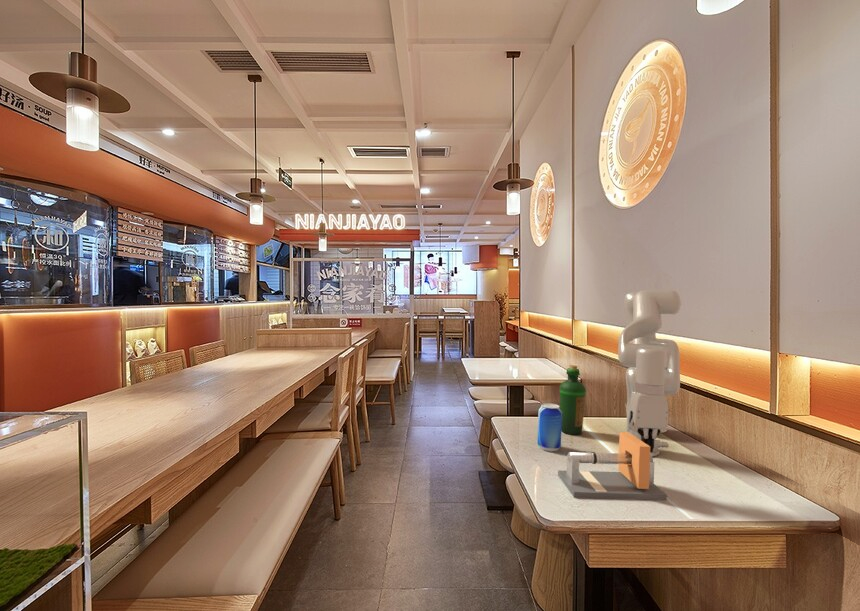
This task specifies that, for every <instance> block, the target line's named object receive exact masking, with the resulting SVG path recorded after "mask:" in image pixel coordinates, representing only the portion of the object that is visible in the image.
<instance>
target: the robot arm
mask: <svg viewBox="0 0 860 611" xmlns="http://www.w3.org/2000/svg"><path fill="white" fill-rule="evenodd" d="M623 303H624V305H623V306H624V311H625V314H626V318H627V319H628V323H629V324H628V325H626V327H625V328H624V329H623V330H622V331H621V333H620V335H619V338H618V344H617V346H618V348H617V350H618V351H617V356H618V362H619V363H620V364H621V365H622V366H624V367H627V369H626V371H625V381H626V392H627V393H626V397H627V398H626V399H627V401H626V403H627V414H626V428H625V429H626V430H625V432H629V433H631V434H632V435H634V436H635V437H637V438H638V439H640V440H641V441H643V442H644V443H646V444H647V445H649V446H650V455H651V456H652V457H657V456H659V455H660V450H659V448H668V447H669V443H668V442H667V441H661V440H660V439H656V438H657V436H659V435H660V433H665V432H667V431H668V426H669V406H668V399H667V396H666V395H671V396H672V395H676V394H678V393H679V391H680V388H681V367H680V364H681V363H680V361H681V360H680V349H679V345H678V343H677V342H676V341H675V340H673V339H666V338H657V337H656V336H657V335H656V333H657V332H659V330H660V329H661V328H662V325H663V323H662V322H663V321H662V315H672V316H674V315H677V314H678V313H679V312H680V310H681V305H682V304H681V303H682V301H681V297H680V294H679V293H678V292H677V291H675V290H673V289H644V290H643V289H642V290H640V291H639V290H638V291H631V292H628V293H627V294H625V296H624V300H623Z"/></svg>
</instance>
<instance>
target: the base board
mask: <svg viewBox="0 0 860 611" xmlns="http://www.w3.org/2000/svg"><path fill="white" fill-rule="evenodd" d="M557 476H558V478H559V479H560V481H562V483H563V484H564V486H565V487H566V488H567V490H568V491H569V492H570V494H571V495H572V497H573V498H583V499H584V498H585V499H590V498H592V499H618V500H619V499H621V500H622V499H624V500H630V499H631V500H655V499H667V497H668V496H667V493H666V492H665V491H664V490H662V489H661V488H660V487H659V486H657V485H656V484H655V483H654V486H649V489H638V488H637V487H636V486H635V485H634V484H633V483H632V482H631V481H630V480H628V479H627V478H626V477H625V476H624V475H623V474H622V473H621V472H620V471H600V470H599V471H598V470H595V471H593V470H590V471H589V470H579V483H578V484H571V483H570V481H569V480H568V479H567V470H561V469H560V470H557Z"/></svg>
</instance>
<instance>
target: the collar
mask: <svg viewBox="0 0 860 611" xmlns="http://www.w3.org/2000/svg"><path fill="white" fill-rule="evenodd" d="M618 435H619V441H618V453H625V454H632V464H617V465H618V468H617V470H618V472H621V473H622V474H623V475H624V476H625V477H626V478H627V479H628V480H630V481H631V482H632V483H633V484H634V485H635V486H636V487H637V488H638V489H649V473H650V446H649V445H647V444H646V443H644V442H643V441H641V440H640V439H638V438H637V437H635V436H634V435H632V434H631V433H629V432H626V431H623V432H622V431H620V432H619V434H618Z"/></svg>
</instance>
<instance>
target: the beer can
mask: <svg viewBox="0 0 860 611" xmlns="http://www.w3.org/2000/svg"><path fill="white" fill-rule="evenodd" d="M537 416H538V417H537V446H539V449H540V450H543V451H545V452H553V451H554V452H558V451H559V450H560V448H561V447H562V431H561V427H562V412H561V410H560V404H559V405H558V404H556V403H550V402H544V403H541V406H540V408H538V415H537Z"/></svg>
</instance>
